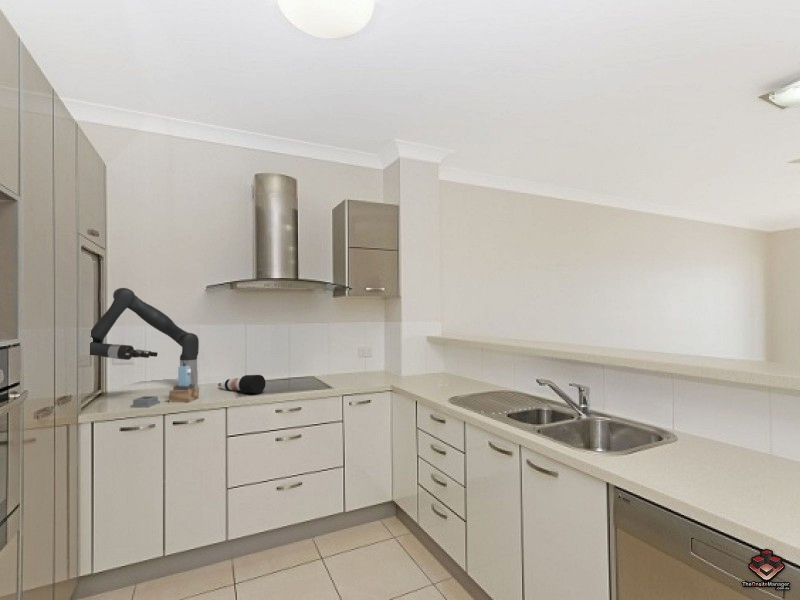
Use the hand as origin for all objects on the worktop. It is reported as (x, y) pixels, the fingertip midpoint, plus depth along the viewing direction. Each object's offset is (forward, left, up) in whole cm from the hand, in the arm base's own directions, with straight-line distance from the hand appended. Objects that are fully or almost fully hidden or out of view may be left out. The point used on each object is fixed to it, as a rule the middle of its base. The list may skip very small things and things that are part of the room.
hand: (153, 355), depth 213 cm
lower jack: (+10, +3, -24) cm, 26 cm away
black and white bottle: (-22, +36, -24) cm, 49 cm away
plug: (0, +17, -18) cm, 25 cm away
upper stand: (0, +17, -24) cm, 29 cm away
